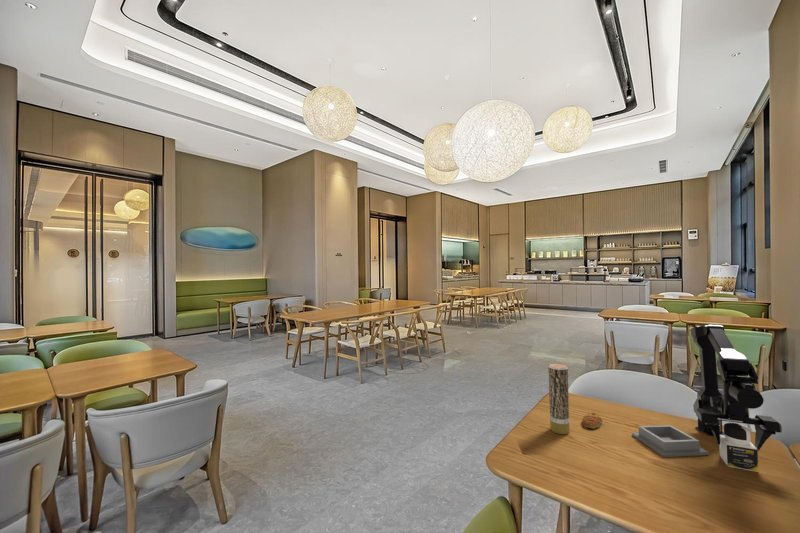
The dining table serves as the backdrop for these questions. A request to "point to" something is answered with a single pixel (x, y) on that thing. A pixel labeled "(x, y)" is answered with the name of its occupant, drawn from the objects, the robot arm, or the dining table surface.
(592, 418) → the pastry
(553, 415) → the bark-patterned cylinder
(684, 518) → the dining table surface
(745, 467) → the medicine bottle
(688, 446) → the bottle caddy
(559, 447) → the dining table surface
